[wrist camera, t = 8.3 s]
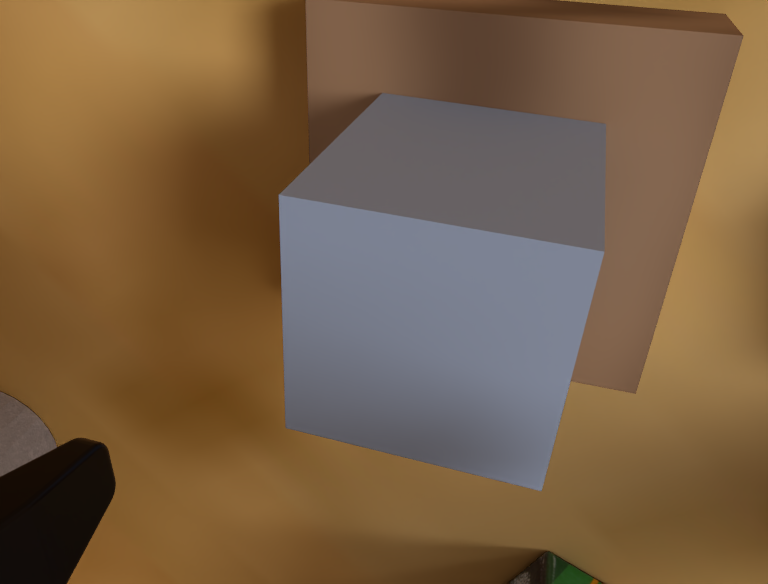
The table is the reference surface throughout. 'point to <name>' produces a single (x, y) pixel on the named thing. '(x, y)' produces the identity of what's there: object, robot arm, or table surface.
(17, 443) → the house plant
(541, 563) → the chalk box
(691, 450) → the table surface
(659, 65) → the walnut slab
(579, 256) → the blue block
